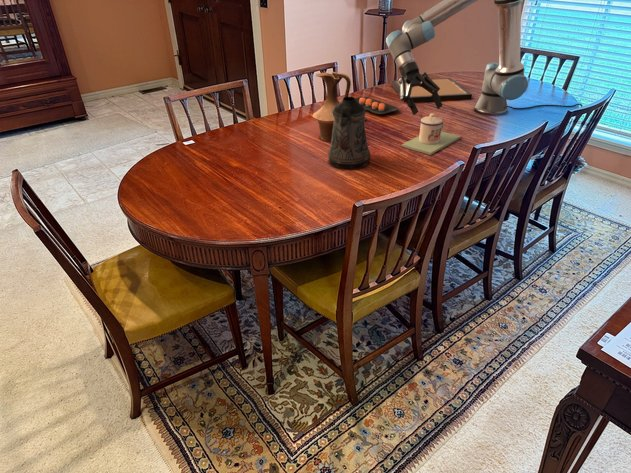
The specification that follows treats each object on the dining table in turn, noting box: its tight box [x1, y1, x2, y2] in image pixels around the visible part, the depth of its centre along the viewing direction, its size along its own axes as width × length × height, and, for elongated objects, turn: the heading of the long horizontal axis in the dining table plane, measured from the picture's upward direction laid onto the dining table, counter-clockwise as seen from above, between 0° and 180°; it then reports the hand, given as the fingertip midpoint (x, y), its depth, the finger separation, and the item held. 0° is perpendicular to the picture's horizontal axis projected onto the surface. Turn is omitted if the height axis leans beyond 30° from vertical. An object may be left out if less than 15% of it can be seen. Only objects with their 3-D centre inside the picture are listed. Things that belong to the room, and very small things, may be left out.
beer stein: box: [327, 96, 371, 171], centre depth 164 cm, size 16×19×25 cm
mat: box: [401, 130, 461, 156], centre depth 185 cm, size 24×14×1 cm, turn 136°
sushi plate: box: [354, 96, 400, 122], centre depth 222 cm, size 29×30×4 cm
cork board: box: [391, 77, 473, 104], centre depth 247 cm, size 36×3×35 cm
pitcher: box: [312, 71, 352, 142], centre depth 186 cm, size 18×17×28 cm
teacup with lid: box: [418, 112, 445, 144], centre depth 182 cm, size 12×9×12 cm
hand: (428, 110), depth 182 cm, fingers open, 13 cm apart
